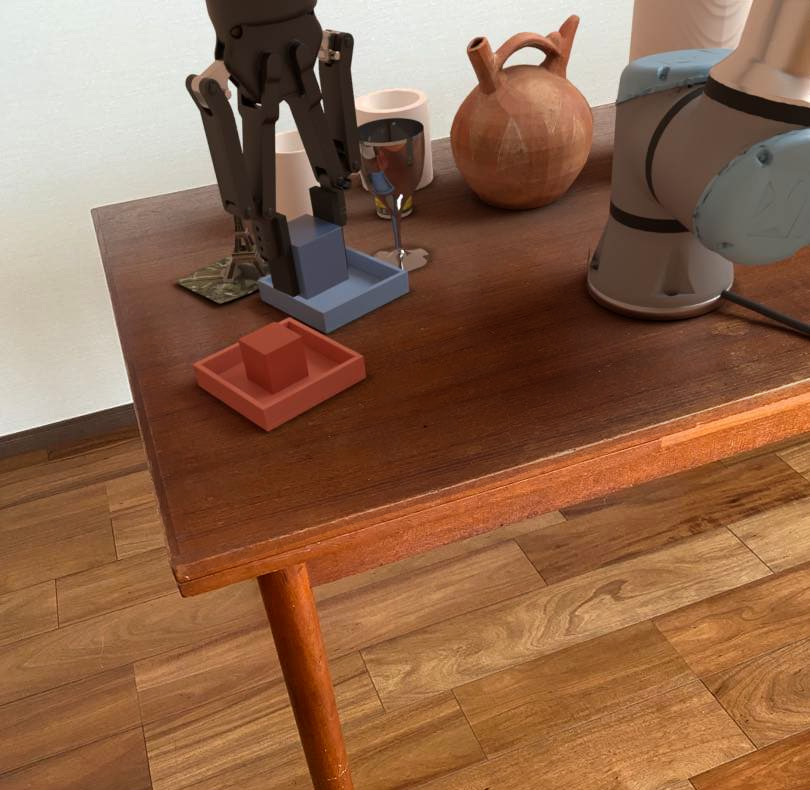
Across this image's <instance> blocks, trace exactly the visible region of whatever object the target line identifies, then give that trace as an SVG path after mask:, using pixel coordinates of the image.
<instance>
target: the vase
mask: <svg viewBox="0 0 810 790" xmlns="http://www.w3.org/2000/svg"><path fill="white" fill-rule="evenodd" d="M752 2H753V0H633V7H632V8H633V9H632V18H631V19H632V20H631V32H630V41H629V42H630V43H629V53H628V54H629V56H628V64H629V63H631V62H632V61H634V60H636V59H639V58H642V57H645V56H649V55H654V54H659V53H665V52H671V51H680V50H691V49H733V50H735V49H736V48H737V47H738V44H739V41H740V38H741V35H742V32H743V29H744V26H745V23H746V20H747V17H748V14H749V11H750V8H751V5H752Z"/></svg>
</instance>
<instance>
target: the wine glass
mask: <svg viewBox="0 0 810 790" xmlns="http://www.w3.org/2000/svg"><path fill="white" fill-rule="evenodd" d="M358 136H359V145H360V154H361V163H362V166H361V170H360V171H359V173H360V174H359V176H360V178H361V182H362V181H363V183H364V185H365V187H366V188H367V189H368V190H369V193H370V194H371V195H373V196H374V198H375V197H376V198H377V199H378V200H379V201H380V202H381V203H382V204H383V205H384V206H385V207H386V209H387V210H388V212H389V214H390V217H391V219H390V221H391V224H392V230H393V236H394V246H392V247H388V248H385V249H382V250H379V251H378V252H376V253H375V254H374V255H372V257H374V258H376V259H379V260H381V261H384V262H386V263H388V264H391V265H393V266H395V267H398V268H400V269H403V270H405V271H407V272H412V271H415V270H418V269H420V268H422V267H423V266H425V265H427V263H428V262H429V260H430V254H429V253H428V252H427V251H426V250H424V249H423V248H421V247H418V246H413V245H403V243H402V218H401V214H402V210H403V207H404V205H405V203H406V202H407V200H408V199H409V197H410V196H411V197H412V194H413V193H414V192H415V191H416V190H415V189H416V188H417V186H418V184H419V183H420V181H421V178H422V174H423V168H424V159H425V136H424V126H423V124H422V123H421V122H419V121H416V120H413V119H407V118H388V119H380V120H375V121H371V122H368V123H365V124H362V125H360V126H358ZM368 190H367V191H368ZM414 190H415V191H414Z"/></svg>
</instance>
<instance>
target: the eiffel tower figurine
mask: <svg viewBox="0 0 810 790" xmlns="http://www.w3.org/2000/svg"><path fill="white" fill-rule="evenodd" d="M232 216H233V224H234V230H233V234H234V246H233V249H232V252H231V255H229V256H227V257H225V258H222V259H220V260H217V261H215V262H213V263H211V264H208V265H206V266H203V267H202V268H200V269H197V270H195V271H194V272H191V273H190V274H188V275H185V276H183V277H182V278H179V279H177V280H174V282H175V283H177V284H178V285H181V286H182V287H184V288H186V289H188V290H191V291H192V292H195V293H196V294H199V295H200V296H203V297H205V298H208V299H210V300H212V301H213V302H216V303H218V304H223V303H226V302H229V301H232V300H235V299H238V298H241V297H244V296H245V295H248V294H251V293H253V292H256V291H257V290H259V285H258V280H259V279H261V278H263V277H266V276H268V275H270V270H269V265H268V260H267V258H264V257H262V256H260V254H259V252H258V251H257V247H256V242H255V239H253V237H252V235H251V232H250V231H249V230H248V229H249V226H247V225H246V222H245V220H244V219H242V218H239V217H237V216H234V215H232ZM242 239H243V241H244V242H243V241H242Z"/></svg>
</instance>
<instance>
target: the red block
mask: <svg viewBox="0 0 810 790" xmlns="http://www.w3.org/2000/svg"><path fill="white" fill-rule="evenodd" d="M237 341H238V342H239V345H240V349H241V353H242V358H243V362H244V366H245V370H246V374H247V378H248V379H249V380H251V381H252V382H254V383H256V384H257V385H259V386H260V387H262V388H264V389H265V390H267V391H268V392H270V393H272V394H275V393H277V392H279V391H281V390H283V389H285V388H287V387H288V386H290V385H292V384H294V383H296V382H298V381H300V380H302V379H303V378H305V377H307V376H309V373H308V367H307V362H306V356H305V351H304V345H303V340H302V336H301V335H299V334H297V333H295V332H293V331H292V330H290V329H288V328H286V327H284V326H282V325H280V324H279V322H277V321H272V322H271V323H269V324H267V325H265V326H262V327H260V328H259V329H257V330H254V331H251V333H248V334H246V335H244V336H242V337H240V338H238V340H237Z"/></svg>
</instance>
